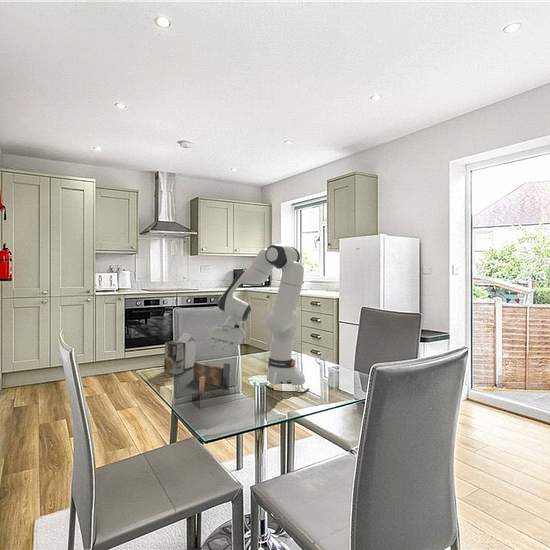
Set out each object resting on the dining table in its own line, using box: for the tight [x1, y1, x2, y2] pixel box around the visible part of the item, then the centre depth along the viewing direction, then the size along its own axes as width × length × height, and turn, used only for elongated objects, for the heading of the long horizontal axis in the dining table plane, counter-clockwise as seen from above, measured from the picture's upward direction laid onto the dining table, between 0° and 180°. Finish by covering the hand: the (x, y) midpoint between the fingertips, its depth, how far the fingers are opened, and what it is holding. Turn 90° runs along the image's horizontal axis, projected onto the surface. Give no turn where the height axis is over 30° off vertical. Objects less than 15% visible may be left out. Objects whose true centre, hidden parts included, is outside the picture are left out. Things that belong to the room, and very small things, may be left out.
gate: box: [192, 361, 223, 388], centre depth 201 cm, size 18×2×9 cm, turn 59°
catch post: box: [198, 377, 206, 395], centre depth 188 cm, size 2×2×7 cm
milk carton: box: [177, 332, 196, 370], centre depth 227 cm, size 7×7×19 cm
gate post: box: [221, 362, 231, 390], centre depth 196 cm, size 3×3×12 cm
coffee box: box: [163, 340, 185, 375], centre depth 216 cm, size 9×6×16 cm
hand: (218, 348), depth 213 cm, fingers open, 5 cm apart
